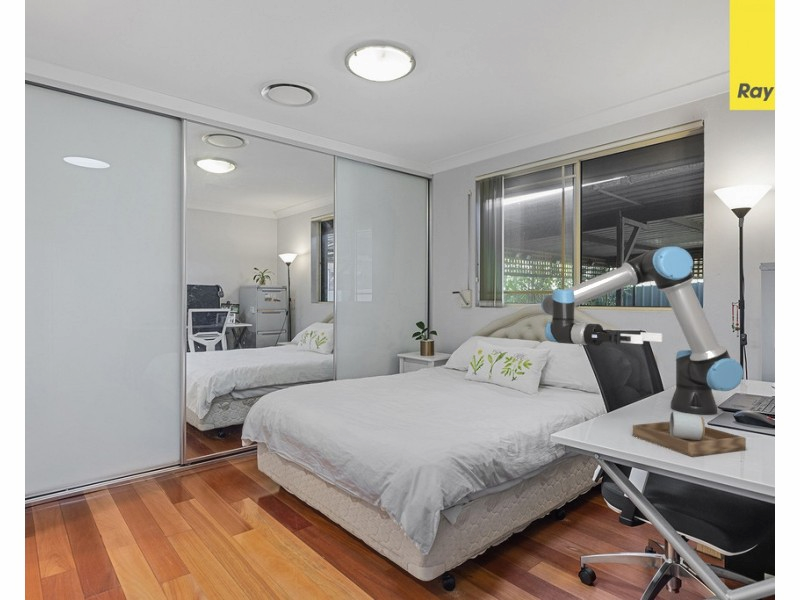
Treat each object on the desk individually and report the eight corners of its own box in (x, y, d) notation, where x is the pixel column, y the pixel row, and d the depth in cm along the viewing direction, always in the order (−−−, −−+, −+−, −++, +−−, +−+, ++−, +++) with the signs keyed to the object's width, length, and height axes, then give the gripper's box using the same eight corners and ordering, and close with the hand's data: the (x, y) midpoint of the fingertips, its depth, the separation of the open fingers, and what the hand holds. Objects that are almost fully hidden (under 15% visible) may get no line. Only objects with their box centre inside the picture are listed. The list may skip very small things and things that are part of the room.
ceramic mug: (706, 444, 132) (706, 416, 132) (673, 440, 135) (673, 414, 135) (697, 435, 142) (697, 409, 142) (666, 431, 145) (667, 407, 145)
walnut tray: (681, 431, 149) (681, 420, 149) (745, 450, 130) (745, 437, 130) (632, 436, 143) (632, 424, 143) (692, 457, 124) (692, 444, 124)
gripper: (606, 343, 169) (669, 348, 152) (568, 347, 153) (633, 353, 136) (606, 322, 169) (669, 325, 152) (568, 324, 153) (634, 327, 136)
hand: (652, 338), depth 144 cm, fingers open, 13 cm apart
